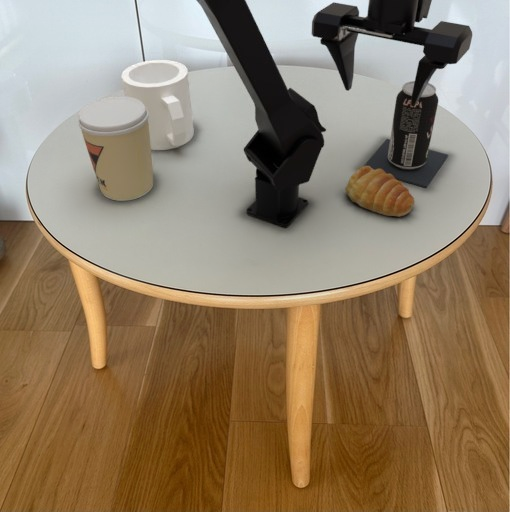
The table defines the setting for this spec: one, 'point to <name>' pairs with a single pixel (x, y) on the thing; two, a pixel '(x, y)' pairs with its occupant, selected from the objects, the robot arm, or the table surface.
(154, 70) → the mug
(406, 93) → the beverage can
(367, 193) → the pastry
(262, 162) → the robot arm
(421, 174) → the coaster
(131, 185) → the coffee cup
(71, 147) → the table surface
